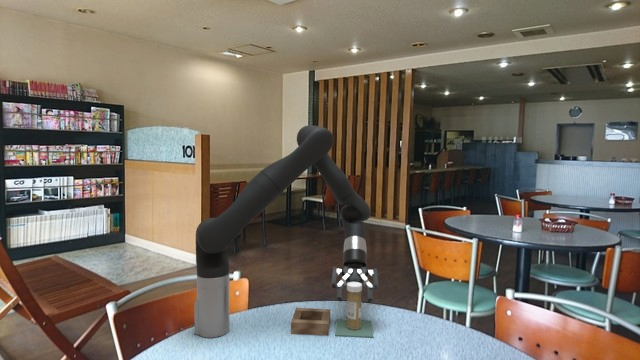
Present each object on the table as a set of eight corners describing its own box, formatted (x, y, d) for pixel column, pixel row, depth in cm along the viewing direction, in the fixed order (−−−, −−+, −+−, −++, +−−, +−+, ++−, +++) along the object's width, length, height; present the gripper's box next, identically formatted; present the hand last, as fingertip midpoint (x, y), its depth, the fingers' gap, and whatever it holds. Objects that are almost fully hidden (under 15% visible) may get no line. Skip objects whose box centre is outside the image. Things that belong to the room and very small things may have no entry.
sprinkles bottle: (364, 328, 118) (365, 284, 117) (352, 331, 116) (353, 287, 115) (354, 322, 122) (355, 280, 121) (343, 325, 119) (343, 282, 118)
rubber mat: (335, 336, 113) (335, 334, 113) (336, 320, 124) (336, 319, 124) (373, 337, 113) (373, 336, 113) (371, 321, 124) (371, 320, 124)
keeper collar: (290, 333, 114) (290, 322, 114) (296, 318, 125) (296, 307, 125) (328, 335, 114) (328, 324, 113) (330, 319, 125) (330, 309, 124)
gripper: (332, 246, 125) (330, 294, 114) (377, 248, 124) (379, 296, 113) (333, 258, 131) (331, 305, 120) (376, 260, 130) (377, 307, 119)
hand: (354, 301), depth 117 cm, fingers open, 8 cm apart
